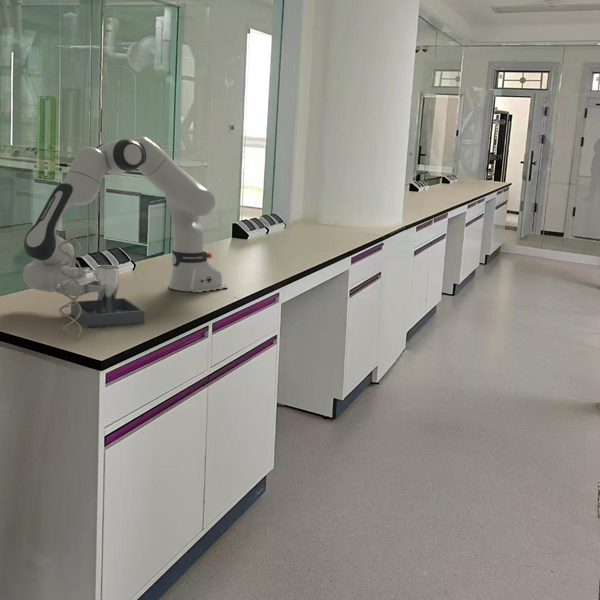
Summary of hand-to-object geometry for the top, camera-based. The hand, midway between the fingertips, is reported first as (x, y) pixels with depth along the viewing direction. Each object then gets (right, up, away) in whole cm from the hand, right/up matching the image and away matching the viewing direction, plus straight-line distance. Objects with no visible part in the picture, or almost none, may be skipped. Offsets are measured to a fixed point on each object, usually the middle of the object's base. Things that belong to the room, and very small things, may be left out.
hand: (109, 286), depth 226 cm
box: (-1, -10, +3) cm, 10 cm away
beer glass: (-2, -9, +2) cm, 9 cm away
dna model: (-6, -15, -19) cm, 25 cm away
